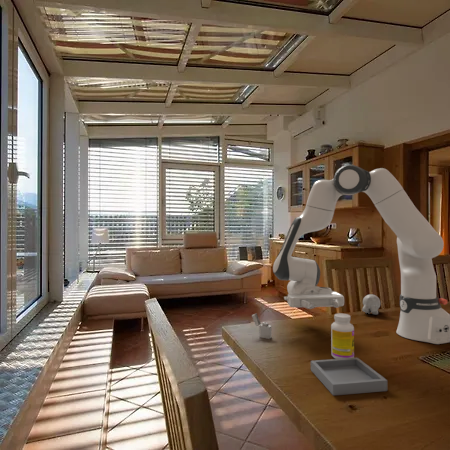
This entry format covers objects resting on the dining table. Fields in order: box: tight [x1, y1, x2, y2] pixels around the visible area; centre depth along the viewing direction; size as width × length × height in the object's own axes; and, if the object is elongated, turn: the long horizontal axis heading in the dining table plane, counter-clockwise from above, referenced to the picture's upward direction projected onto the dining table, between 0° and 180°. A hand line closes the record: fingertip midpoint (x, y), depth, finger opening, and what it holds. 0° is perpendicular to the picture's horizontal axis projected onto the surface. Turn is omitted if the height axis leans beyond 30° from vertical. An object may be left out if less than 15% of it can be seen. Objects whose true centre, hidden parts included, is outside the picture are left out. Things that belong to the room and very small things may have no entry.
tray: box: [310, 357, 388, 396], centre depth 89 cm, size 14×14×3 cm
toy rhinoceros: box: [361, 293, 382, 316], centre depth 152 cm, size 7×12×8 cm, turn 142°
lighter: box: [251, 313, 272, 340], centre depth 123 cm, size 7×2×8 cm, turn 59°
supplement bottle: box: [330, 312, 355, 359], centre depth 103 cm, size 7×7×13 cm
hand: (324, 305), depth 115 cm, fingers open, 8 cm apart
